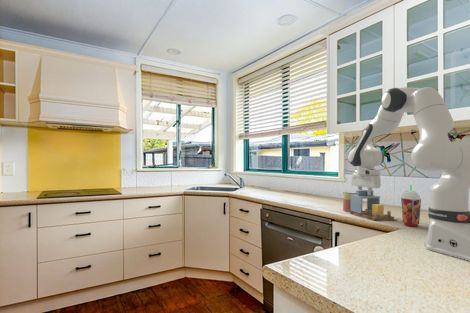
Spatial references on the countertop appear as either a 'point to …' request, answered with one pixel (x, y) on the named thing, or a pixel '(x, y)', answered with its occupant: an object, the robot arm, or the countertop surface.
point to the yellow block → (377, 209)
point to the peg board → (369, 215)
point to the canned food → (347, 200)
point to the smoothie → (411, 208)
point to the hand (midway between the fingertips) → (364, 194)
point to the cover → (357, 200)
